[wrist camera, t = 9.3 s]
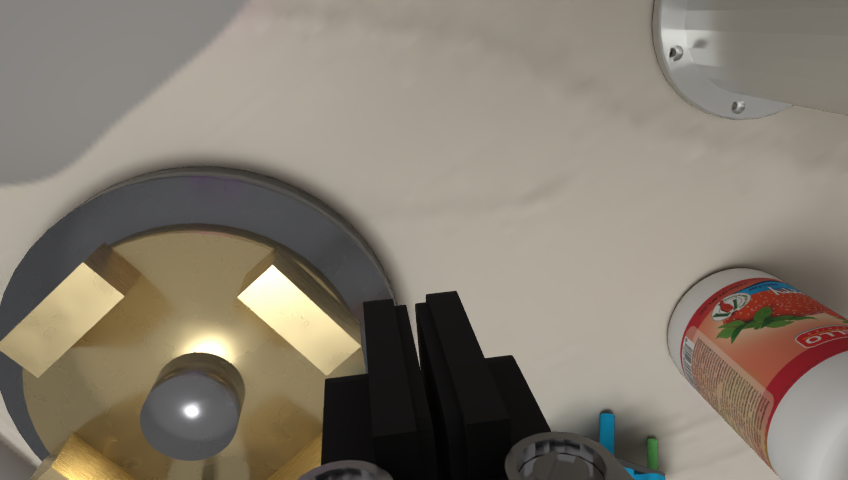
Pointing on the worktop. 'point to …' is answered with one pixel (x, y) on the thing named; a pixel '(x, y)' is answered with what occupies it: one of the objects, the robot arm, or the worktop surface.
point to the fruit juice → (768, 369)
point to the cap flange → (182, 204)
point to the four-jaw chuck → (185, 359)
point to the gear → (643, 476)
